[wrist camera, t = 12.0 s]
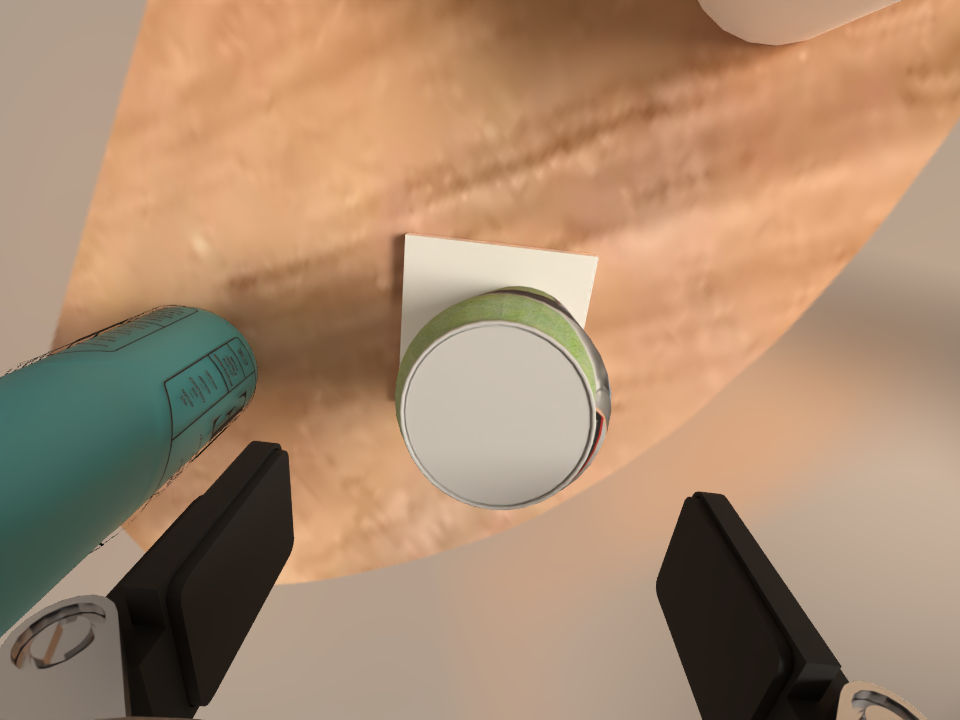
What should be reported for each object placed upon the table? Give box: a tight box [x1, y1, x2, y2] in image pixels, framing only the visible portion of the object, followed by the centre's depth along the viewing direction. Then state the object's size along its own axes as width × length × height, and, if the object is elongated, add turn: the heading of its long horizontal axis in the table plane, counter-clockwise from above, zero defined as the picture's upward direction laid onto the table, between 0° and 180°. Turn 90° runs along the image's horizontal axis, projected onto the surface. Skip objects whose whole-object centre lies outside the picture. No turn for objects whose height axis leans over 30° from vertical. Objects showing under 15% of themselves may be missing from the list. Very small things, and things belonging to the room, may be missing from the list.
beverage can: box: [395, 286, 611, 510], centre depth 17 cm, size 6×7×12 cm
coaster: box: [399, 232, 599, 368], centre depth 23 cm, size 9×9×1 cm
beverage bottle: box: [0, 305, 258, 637], centre depth 16 cm, size 6×7×20 cm
